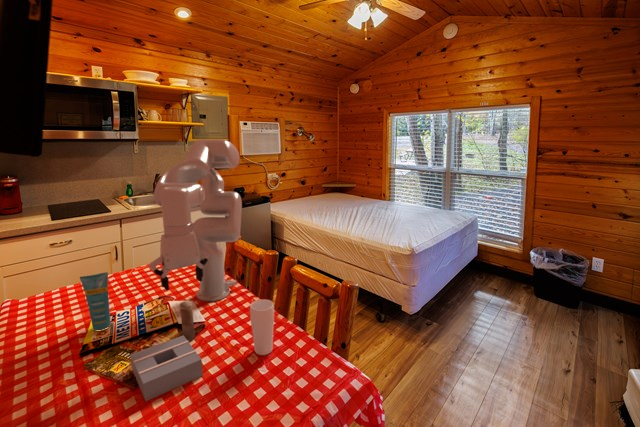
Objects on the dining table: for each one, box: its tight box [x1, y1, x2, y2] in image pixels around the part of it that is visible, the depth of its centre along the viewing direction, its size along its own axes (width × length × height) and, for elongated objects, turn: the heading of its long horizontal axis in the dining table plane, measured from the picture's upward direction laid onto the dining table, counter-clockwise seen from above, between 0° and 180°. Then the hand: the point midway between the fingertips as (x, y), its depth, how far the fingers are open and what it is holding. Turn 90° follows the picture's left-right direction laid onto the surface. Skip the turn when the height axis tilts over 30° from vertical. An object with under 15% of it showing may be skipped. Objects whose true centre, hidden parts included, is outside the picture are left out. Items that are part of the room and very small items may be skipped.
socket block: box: [130, 334, 204, 402], centre depth 90 cm, size 14×14×5 cm
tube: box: [79, 271, 111, 331], centre depth 109 cm, size 7×5×19 cm, turn 123°
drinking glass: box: [249, 298, 275, 356], centre depth 99 cm, size 7×7×15 cm
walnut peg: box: [179, 300, 196, 343], centre depth 105 cm, size 4×4×12 cm
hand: (183, 284), depth 102 cm, fingers open, 9 cm apart
